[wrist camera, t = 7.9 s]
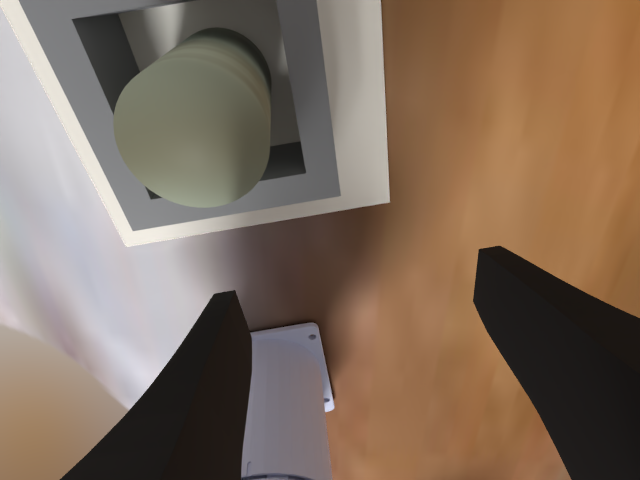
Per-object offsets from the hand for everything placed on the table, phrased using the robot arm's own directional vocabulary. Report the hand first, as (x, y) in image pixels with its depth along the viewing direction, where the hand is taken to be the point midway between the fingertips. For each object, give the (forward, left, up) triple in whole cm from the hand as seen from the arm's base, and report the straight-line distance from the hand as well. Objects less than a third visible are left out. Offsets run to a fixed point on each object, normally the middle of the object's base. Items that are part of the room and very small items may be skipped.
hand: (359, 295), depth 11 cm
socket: (+5, +4, -9) cm, 11 cm away
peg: (+5, +4, -9) cm, 11 cm away
